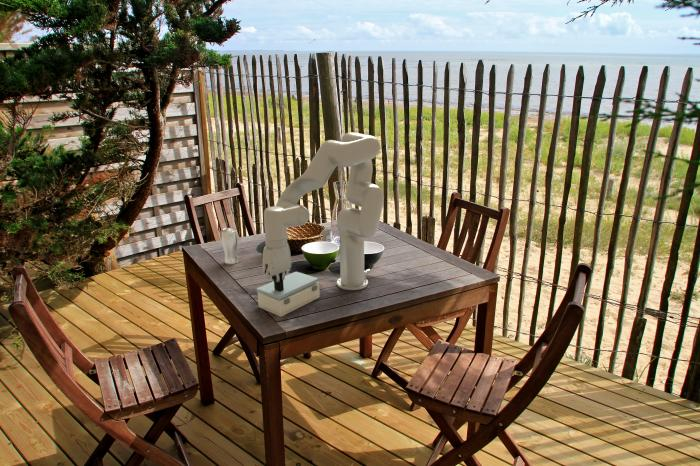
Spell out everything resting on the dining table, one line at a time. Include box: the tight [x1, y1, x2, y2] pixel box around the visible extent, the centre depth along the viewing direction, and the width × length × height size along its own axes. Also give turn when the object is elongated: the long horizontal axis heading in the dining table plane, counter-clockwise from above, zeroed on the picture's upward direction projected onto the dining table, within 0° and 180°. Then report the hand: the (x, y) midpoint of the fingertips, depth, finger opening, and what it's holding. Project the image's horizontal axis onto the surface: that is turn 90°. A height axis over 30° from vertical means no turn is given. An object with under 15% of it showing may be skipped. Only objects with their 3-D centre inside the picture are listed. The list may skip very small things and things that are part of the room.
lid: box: [256, 271, 319, 300], centre depth 194 cm, size 20×12×1 cm, turn 140°
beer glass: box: [220, 227, 239, 265], centre depth 232 cm, size 7×7×15 cm
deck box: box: [256, 281, 321, 317], centre depth 195 cm, size 20×13×6 cm, turn 140°
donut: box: [319, 227, 332, 241], centre depth 249 cm, size 10×4×10 cm, turn 91°
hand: (279, 289), depth 189 cm, fingers closed
